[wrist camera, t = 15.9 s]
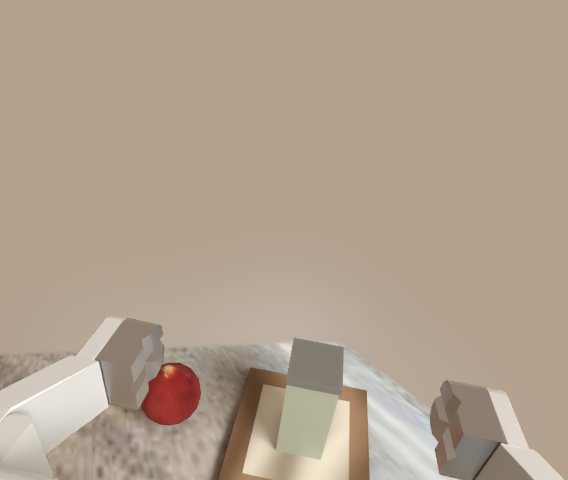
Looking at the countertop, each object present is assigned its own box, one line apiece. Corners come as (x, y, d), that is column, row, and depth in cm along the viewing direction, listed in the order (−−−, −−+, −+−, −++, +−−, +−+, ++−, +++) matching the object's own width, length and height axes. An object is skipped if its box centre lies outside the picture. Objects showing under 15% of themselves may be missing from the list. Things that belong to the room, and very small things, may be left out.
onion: (169, 384, 44) (164, 334, 40) (211, 405, 43) (211, 356, 38) (132, 425, 40) (123, 374, 36) (178, 451, 38) (174, 401, 34)
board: (214, 496, 35) (214, 490, 34) (249, 373, 47) (250, 367, 46) (368, 531, 34) (371, 526, 33) (364, 396, 46) (366, 390, 45)
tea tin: (274, 451, 38) (286, 378, 32) (282, 409, 42) (294, 337, 36) (321, 461, 38) (342, 389, 32) (324, 417, 42) (343, 347, 36)
